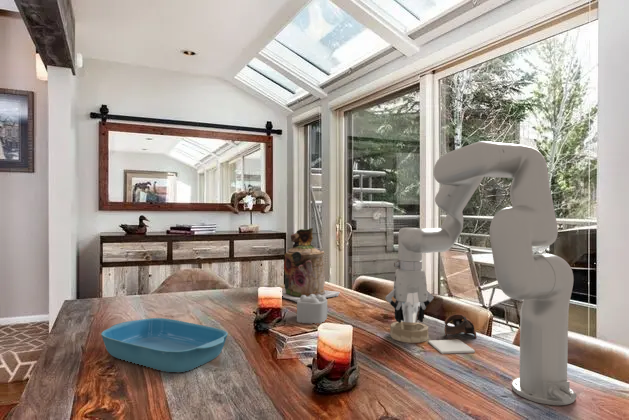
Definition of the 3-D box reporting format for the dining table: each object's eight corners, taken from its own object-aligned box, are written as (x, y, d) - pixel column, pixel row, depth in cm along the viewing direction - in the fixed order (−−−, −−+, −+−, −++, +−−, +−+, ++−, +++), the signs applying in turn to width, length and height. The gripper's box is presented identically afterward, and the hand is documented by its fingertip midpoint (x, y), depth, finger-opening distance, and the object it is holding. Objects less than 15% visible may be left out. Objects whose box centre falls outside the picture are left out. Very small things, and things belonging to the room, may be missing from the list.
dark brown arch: (482, 342, 133) (472, 321, 132) (454, 354, 135) (444, 333, 133) (471, 322, 145) (461, 303, 143) (445, 333, 147) (435, 314, 145)
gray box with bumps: (293, 321, 154) (293, 298, 154) (305, 313, 166) (305, 291, 166) (321, 324, 150) (321, 300, 150) (331, 315, 163) (331, 293, 163)
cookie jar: (308, 288, 216) (309, 225, 215) (341, 296, 197) (342, 227, 196) (267, 294, 200) (268, 226, 199) (299, 304, 181) (300, 229, 180)
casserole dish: (243, 355, 120) (243, 330, 119) (185, 385, 100) (185, 354, 100) (149, 336, 136) (149, 314, 136) (84, 358, 116) (84, 332, 116)
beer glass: (395, 338, 136) (395, 291, 135) (401, 332, 142) (402, 287, 141) (417, 341, 132) (417, 293, 132) (422, 335, 138) (422, 289, 138)
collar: (433, 342, 132) (433, 330, 132) (397, 343, 130) (397, 331, 130) (419, 331, 143) (419, 320, 143) (386, 332, 142) (386, 321, 142)
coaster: (474, 352, 123) (474, 350, 123) (441, 353, 122) (441, 351, 122) (458, 341, 133) (458, 339, 133) (428, 342, 131) (428, 340, 131)
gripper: (387, 267, 132) (386, 325, 132) (440, 267, 134) (439, 323, 134) (380, 264, 139) (379, 318, 140) (431, 264, 141) (430, 317, 142)
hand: (409, 320), depth 137 cm, fingers closed on beer glass, 6 cm apart
